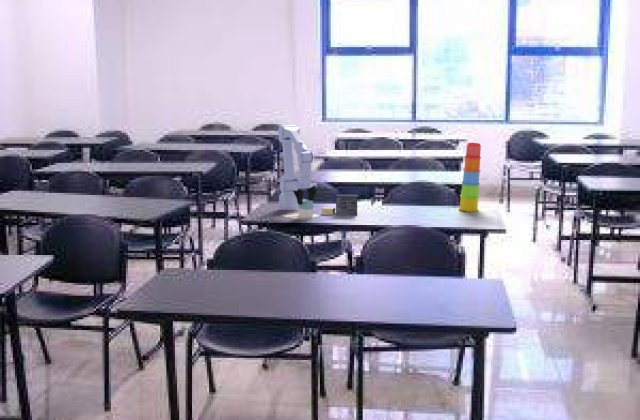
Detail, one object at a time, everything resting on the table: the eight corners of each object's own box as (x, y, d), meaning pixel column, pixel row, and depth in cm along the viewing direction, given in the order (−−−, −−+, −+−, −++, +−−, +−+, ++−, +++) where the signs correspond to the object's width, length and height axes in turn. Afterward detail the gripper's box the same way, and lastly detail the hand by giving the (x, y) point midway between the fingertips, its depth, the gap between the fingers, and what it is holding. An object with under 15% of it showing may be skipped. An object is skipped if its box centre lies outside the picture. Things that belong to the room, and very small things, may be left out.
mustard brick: (321, 216, 365) (321, 208, 364) (323, 214, 369) (323, 206, 368) (332, 216, 363) (332, 209, 362) (335, 215, 367) (335, 207, 366)
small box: (357, 214, 368) (357, 194, 366) (356, 217, 361) (357, 196, 359) (336, 214, 369) (336, 193, 367) (335, 216, 363) (335, 196, 360)
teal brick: (298, 208, 359) (298, 200, 359) (304, 207, 362) (304, 199, 361) (307, 209, 355) (307, 201, 354) (313, 208, 358) (313, 200, 357)
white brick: (298, 216, 360) (298, 208, 359) (304, 215, 363) (304, 207, 362) (307, 217, 356) (307, 209, 355) (312, 216, 359) (312, 208, 358)
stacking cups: (471, 207, 384) (474, 141, 377) (482, 211, 375) (485, 143, 368) (454, 209, 381) (456, 142, 374) (465, 212, 371) (467, 144, 364)
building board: (279, 217, 362) (279, 215, 362) (300, 212, 372) (299, 211, 372) (302, 221, 351) (302, 220, 351) (322, 217, 361) (322, 215, 361)
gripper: (300, 178, 348) (300, 206, 351) (321, 175, 358) (321, 202, 361) (290, 177, 353) (290, 204, 355) (311, 173, 363) (311, 200, 366)
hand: (305, 203), depth 358 cm, fingers open, 7 cm apart
